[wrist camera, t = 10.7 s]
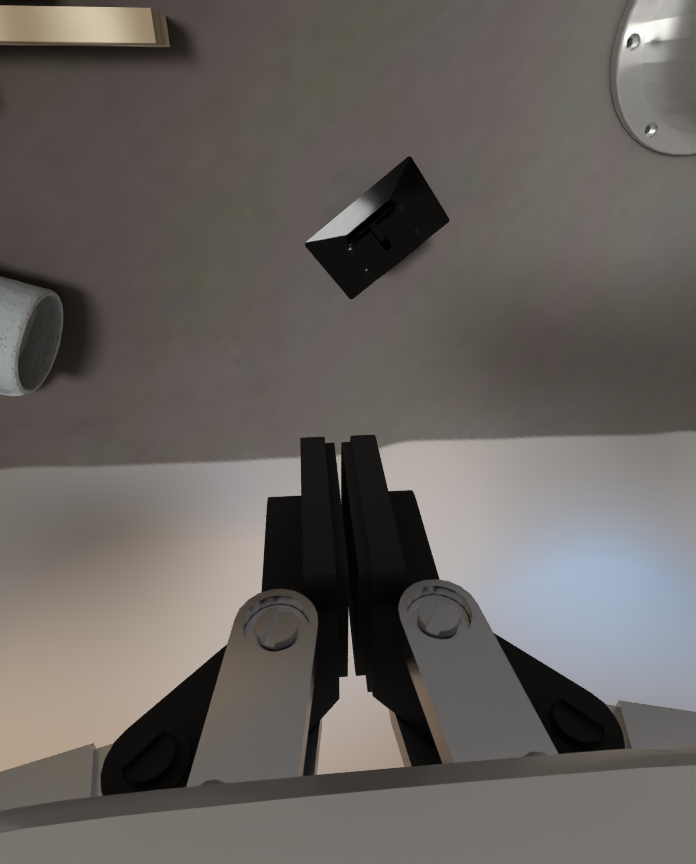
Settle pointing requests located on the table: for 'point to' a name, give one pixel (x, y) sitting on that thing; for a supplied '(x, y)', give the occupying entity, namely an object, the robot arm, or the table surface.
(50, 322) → the ceramic mug
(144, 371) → the table surface
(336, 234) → the build plate
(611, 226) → the table surface
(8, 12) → the light wooden angled piece
